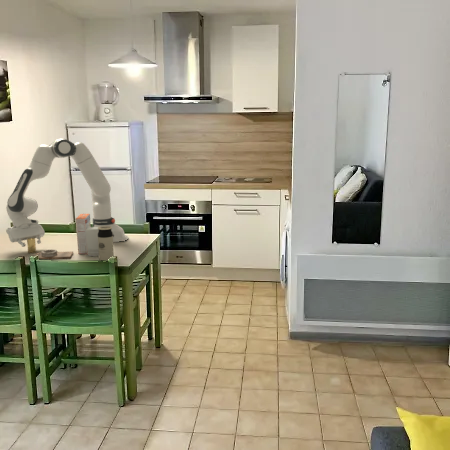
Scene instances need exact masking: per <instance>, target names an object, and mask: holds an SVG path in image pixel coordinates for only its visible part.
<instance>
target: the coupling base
mask: <svg viewBox="0 0 450 450" xmlns="http://www.w3.org/2000/svg"><path fill="white" fill-rule="evenodd" d="M73 254H74V251H58V250H57V249H44V250H41V252H36V253H34V255H38V256H39V259H49V260H71V258H72V256H74V255H73Z"/></svg>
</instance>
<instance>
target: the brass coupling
mask: <svg viewBox="0 0 450 450" xmlns="http://www.w3.org/2000/svg"><path fill="white" fill-rule="evenodd" d="M26 243H27V244H26V247H27V253H28V254H36V253H37V247H36V244H37V243H36V238H28V239H27V240H26Z"/></svg>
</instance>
